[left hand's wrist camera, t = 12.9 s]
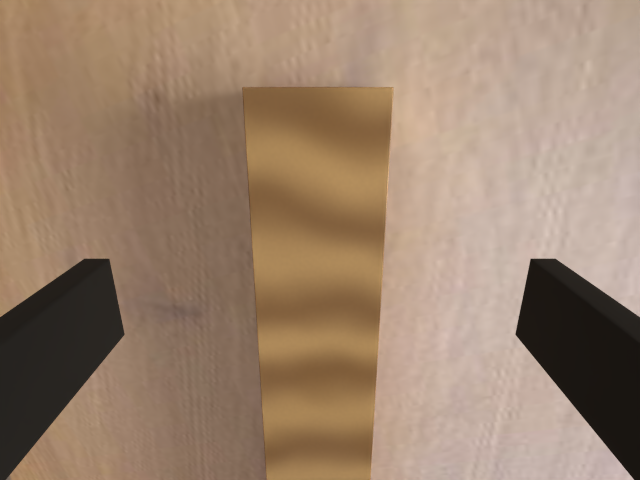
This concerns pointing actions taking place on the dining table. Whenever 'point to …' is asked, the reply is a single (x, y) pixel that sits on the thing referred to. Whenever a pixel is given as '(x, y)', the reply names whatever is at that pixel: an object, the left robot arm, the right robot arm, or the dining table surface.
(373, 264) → the wide beam
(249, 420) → the dining table surface
